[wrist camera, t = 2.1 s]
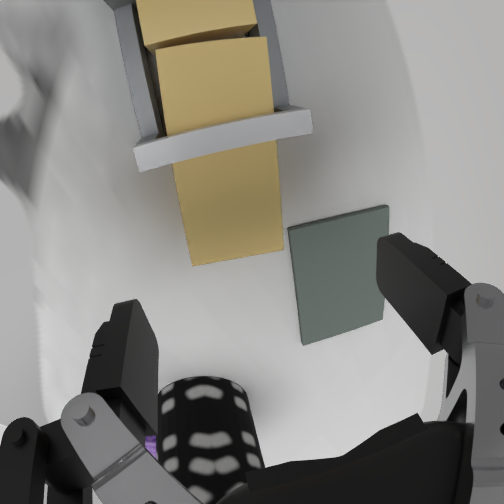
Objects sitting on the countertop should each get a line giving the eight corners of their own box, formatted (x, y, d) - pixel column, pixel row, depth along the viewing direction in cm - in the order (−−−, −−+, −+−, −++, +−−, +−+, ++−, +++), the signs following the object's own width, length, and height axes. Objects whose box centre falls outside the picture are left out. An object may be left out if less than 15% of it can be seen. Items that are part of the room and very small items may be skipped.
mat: (287, 228, 20) (289, 231, 19) (386, 204, 20) (389, 206, 20) (301, 342, 25) (303, 345, 24) (380, 316, 25) (382, 319, 25)
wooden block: (162, 59, 14) (155, 49, 11) (248, 47, 15) (266, 36, 11) (190, 231, 19) (192, 266, 15) (265, 218, 19) (283, 249, 16)
